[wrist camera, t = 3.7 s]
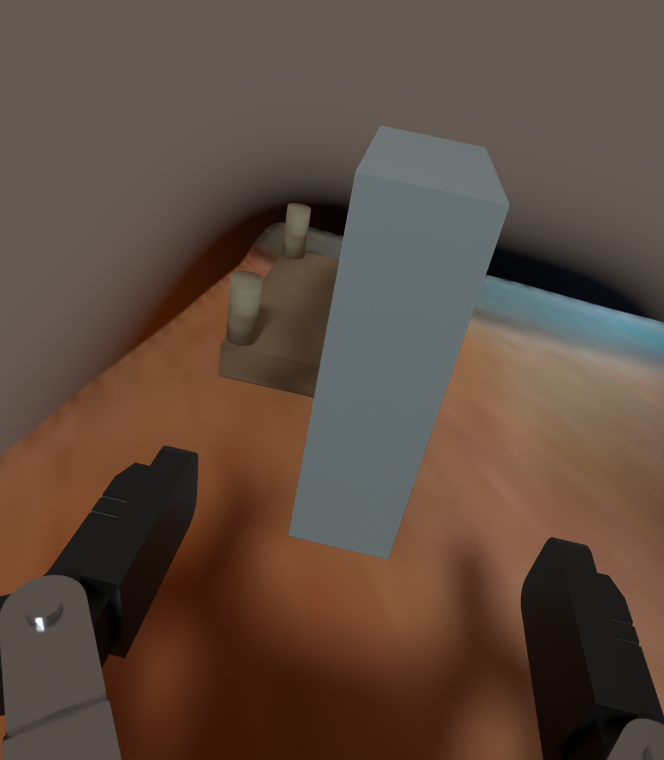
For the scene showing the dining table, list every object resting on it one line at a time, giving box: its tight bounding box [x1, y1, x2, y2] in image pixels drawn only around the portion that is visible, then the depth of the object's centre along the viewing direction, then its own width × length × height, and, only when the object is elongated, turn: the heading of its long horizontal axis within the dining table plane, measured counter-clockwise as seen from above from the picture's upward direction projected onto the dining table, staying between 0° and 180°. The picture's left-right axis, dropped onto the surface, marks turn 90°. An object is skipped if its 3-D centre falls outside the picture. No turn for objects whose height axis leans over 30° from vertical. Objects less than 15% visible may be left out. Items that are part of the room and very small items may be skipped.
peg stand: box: [219, 203, 339, 397], centre depth 35 cm, size 10×15×6 cm, turn 171°
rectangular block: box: [289, 126, 509, 560], centre depth 21 cm, size 4×8×14 cm, turn 171°
